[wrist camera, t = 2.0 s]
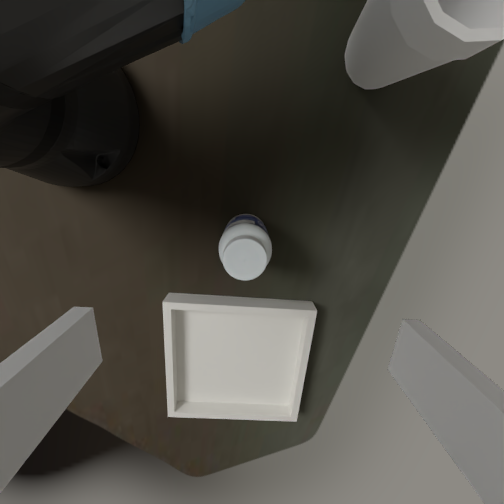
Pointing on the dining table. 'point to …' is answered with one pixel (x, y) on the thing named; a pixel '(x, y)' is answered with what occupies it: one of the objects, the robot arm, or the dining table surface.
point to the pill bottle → (245, 247)
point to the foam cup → (418, 37)
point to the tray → (236, 356)
